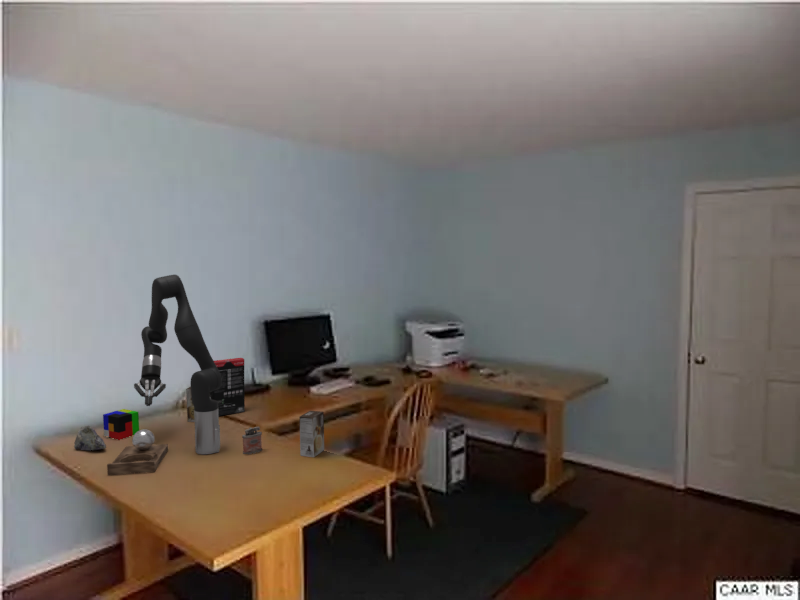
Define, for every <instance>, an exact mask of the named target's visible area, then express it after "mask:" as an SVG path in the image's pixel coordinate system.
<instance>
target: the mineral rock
mask: <svg viewBox="0 0 800 600" xmlns="http://www.w3.org/2000/svg"><path fill="white" fill-rule="evenodd" d="M73 447H74V449H75V450H81V451H91V450H92V451H97V450H98V451H99V450H105V449H106V448H107V445H106V444H105V441H104V439H103V437H101V436H100V435H98V434H97V431H96V430H95V429H94V427H91V426H90V425H87V426H81V427H80V428H79V430H78V431H77V434H76V436H75V440H74V446H73Z"/></svg>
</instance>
